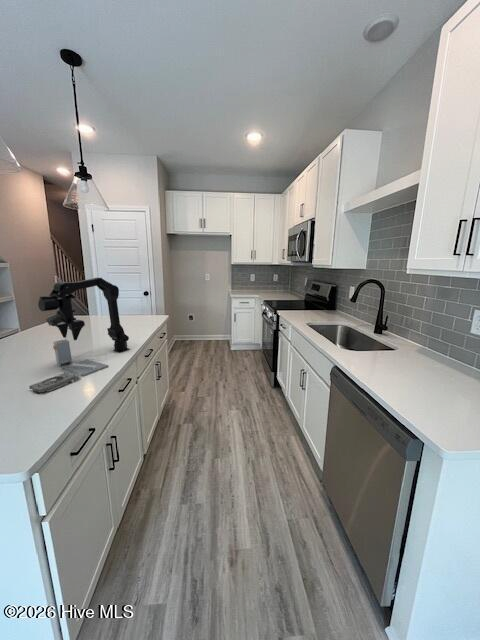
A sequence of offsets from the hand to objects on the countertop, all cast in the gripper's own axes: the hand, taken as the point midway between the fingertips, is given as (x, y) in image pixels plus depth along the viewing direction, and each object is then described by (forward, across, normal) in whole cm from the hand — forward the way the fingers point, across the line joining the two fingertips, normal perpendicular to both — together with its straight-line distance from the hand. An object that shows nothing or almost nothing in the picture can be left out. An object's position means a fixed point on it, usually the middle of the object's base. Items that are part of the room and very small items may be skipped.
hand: (70, 338), depth 130 cm
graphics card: (+16, +13, -16) cm, 26 cm away
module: (+15, -7, -1) cm, 16 cm away
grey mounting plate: (+15, +8, +1) cm, 16 cm away
